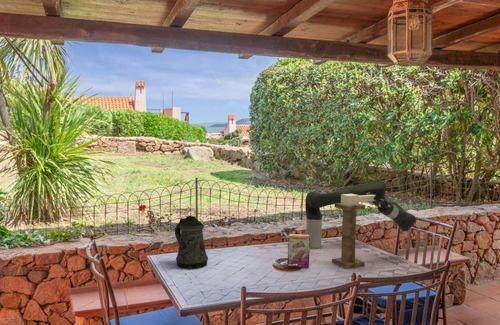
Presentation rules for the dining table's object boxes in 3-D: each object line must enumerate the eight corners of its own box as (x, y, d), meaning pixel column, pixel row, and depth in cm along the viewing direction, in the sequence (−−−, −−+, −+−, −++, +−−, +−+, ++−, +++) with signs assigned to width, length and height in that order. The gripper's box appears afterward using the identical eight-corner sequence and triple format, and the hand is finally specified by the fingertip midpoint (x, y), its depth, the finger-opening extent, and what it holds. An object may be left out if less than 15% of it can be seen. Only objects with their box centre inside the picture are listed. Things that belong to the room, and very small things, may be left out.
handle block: (348, 205, 229) (348, 196, 228) (340, 203, 234) (341, 194, 234) (378, 203, 238) (378, 193, 237) (370, 201, 243) (370, 192, 243)
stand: (346, 268, 227) (347, 206, 225) (331, 262, 238) (333, 203, 236) (364, 266, 233) (366, 205, 230) (349, 259, 243) (351, 201, 241)
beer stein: (202, 270, 222) (202, 221, 220) (165, 267, 226) (165, 219, 224) (211, 261, 238) (212, 214, 236) (177, 258, 242) (177, 213, 240)
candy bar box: (287, 267, 229) (288, 235, 228) (287, 264, 234) (288, 233, 233) (309, 268, 228) (310, 236, 227) (309, 265, 233) (309, 234, 232)
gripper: (395, 217, 238) (375, 204, 231) (376, 213, 251) (357, 200, 244) (400, 205, 239) (381, 191, 233) (382, 201, 252) (363, 188, 245)
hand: (369, 196), depth 238 cm, fingers open, 8 cm apart
